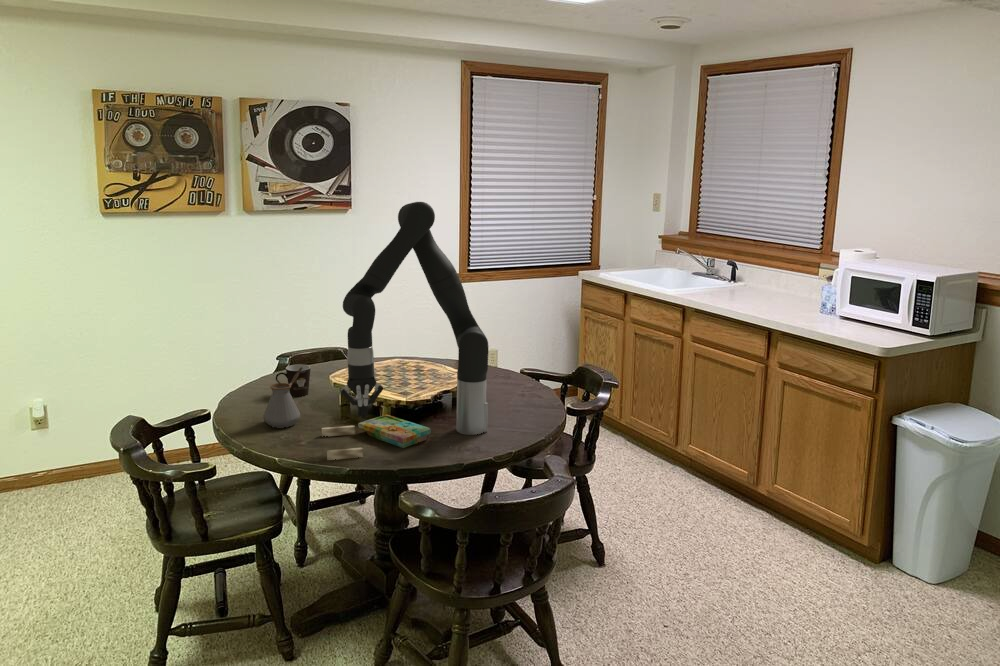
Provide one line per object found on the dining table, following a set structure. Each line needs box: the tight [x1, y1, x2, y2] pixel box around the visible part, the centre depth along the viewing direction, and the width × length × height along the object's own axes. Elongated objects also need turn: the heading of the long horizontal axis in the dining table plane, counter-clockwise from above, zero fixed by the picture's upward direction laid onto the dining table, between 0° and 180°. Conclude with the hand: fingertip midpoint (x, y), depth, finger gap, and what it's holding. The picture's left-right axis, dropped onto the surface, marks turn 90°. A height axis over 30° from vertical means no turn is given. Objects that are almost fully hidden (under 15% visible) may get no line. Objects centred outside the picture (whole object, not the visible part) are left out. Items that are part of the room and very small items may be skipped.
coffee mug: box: [275, 364, 312, 398], centre depth 277 cm, size 12×9×10 cm
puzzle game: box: [357, 413, 432, 449], centre depth 238 cm, size 12×5×20 cm
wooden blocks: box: [321, 425, 364, 461], centre depth 230 cm, size 10×20×2 cm, turn 17°
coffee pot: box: [262, 367, 305, 429], centre depth 250 cm, size 21×12×15 cm, turn 168°
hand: (362, 417), depth 229 cm, fingers closed
